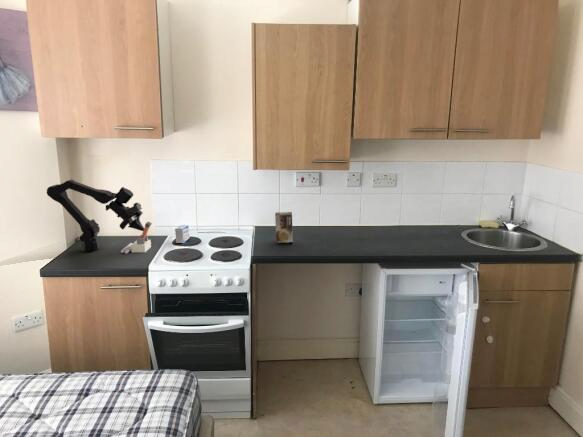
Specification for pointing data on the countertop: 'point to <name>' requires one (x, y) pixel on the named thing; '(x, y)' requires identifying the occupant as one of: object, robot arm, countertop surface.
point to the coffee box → (284, 227)
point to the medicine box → (182, 234)
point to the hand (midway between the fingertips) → (144, 230)
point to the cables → (126, 249)
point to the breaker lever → (146, 230)
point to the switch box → (141, 244)
